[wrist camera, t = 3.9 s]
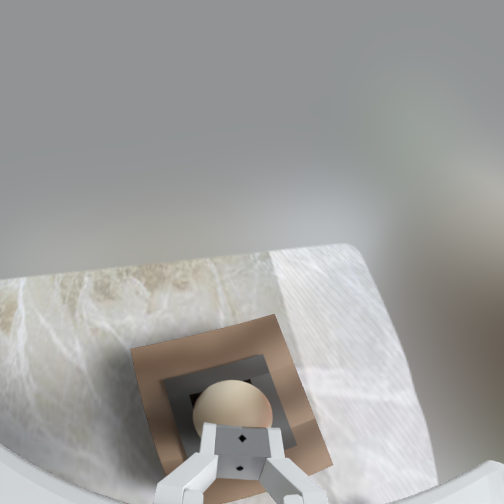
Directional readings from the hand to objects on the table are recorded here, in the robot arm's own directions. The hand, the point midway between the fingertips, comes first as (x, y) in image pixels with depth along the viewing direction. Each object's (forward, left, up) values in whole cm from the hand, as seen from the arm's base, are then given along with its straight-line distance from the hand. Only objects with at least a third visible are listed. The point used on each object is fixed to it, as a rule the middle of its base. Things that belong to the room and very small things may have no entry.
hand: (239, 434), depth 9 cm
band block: (+1, 0, -21) cm, 21 cm away
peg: (+1, 0, -15) cm, 15 cm away
